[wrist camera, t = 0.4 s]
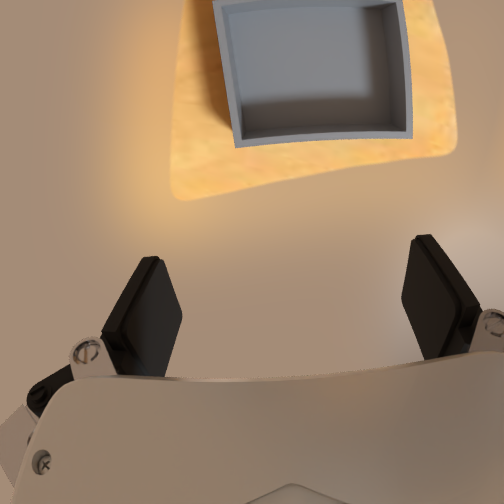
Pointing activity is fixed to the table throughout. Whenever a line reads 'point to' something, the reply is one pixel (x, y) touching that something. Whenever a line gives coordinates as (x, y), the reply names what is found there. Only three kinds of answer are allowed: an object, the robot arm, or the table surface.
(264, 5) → the tote
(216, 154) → the table surface
